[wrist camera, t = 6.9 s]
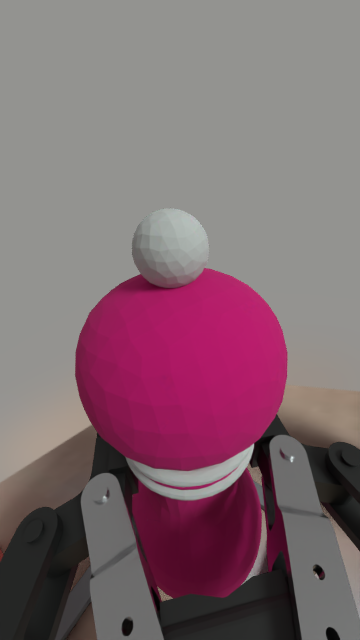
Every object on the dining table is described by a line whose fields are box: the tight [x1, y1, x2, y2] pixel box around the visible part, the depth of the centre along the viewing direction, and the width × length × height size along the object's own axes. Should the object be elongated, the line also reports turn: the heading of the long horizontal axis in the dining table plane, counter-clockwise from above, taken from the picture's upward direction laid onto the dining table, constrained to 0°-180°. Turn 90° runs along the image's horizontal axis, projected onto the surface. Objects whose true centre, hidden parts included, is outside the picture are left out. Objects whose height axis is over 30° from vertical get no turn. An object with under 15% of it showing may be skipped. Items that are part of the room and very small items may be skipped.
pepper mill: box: [75, 209, 287, 598], centre depth 10 cm, size 7×7×20 cm
